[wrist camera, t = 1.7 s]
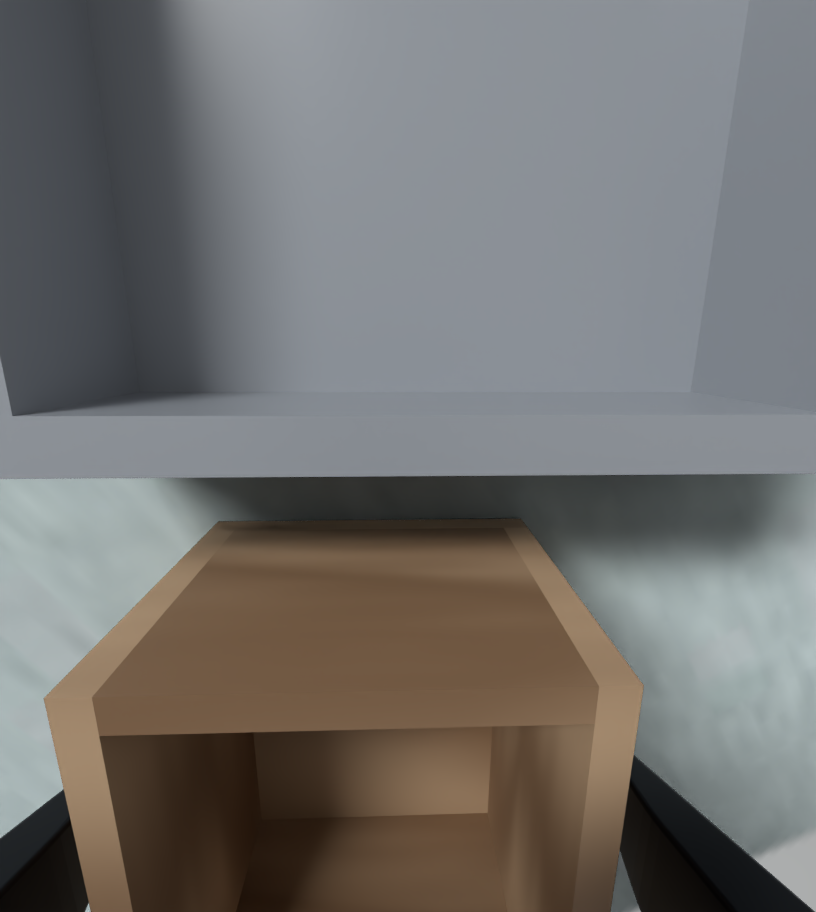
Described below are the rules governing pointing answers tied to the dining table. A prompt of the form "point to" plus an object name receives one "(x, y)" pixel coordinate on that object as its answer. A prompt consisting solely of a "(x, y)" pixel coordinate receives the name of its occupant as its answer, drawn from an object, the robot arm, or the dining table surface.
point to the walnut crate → (351, 728)
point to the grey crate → (407, 238)
